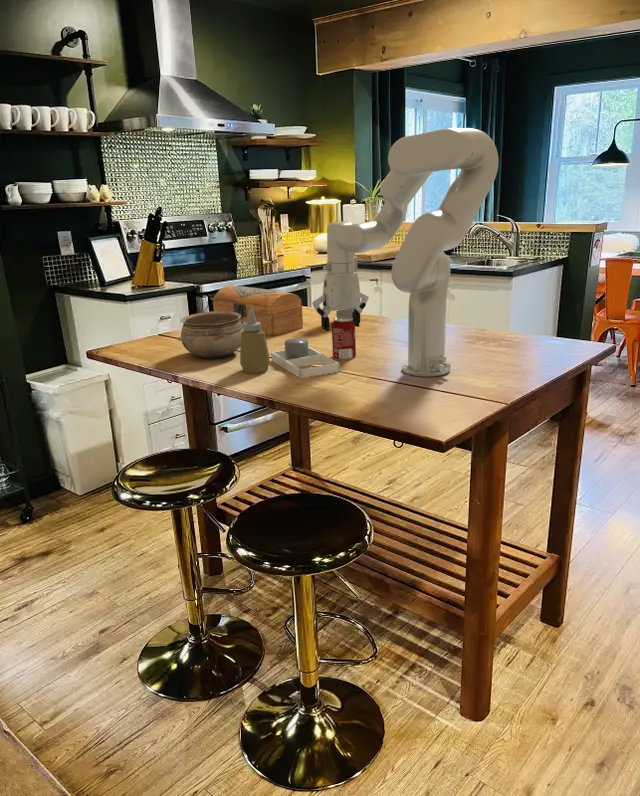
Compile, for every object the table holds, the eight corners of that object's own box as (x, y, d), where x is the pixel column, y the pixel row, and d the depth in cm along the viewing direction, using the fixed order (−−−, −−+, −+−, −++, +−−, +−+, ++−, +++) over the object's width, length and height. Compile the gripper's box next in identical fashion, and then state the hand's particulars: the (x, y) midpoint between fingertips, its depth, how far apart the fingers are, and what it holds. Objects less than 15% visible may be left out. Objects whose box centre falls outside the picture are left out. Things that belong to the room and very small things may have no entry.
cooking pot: (226, 343, 206) (222, 306, 202) (266, 352, 194) (264, 313, 190) (162, 362, 188) (157, 322, 184) (202, 373, 177) (197, 330, 172)
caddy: (340, 375, 170) (339, 350, 167) (300, 383, 165) (299, 357, 163) (308, 357, 187) (307, 334, 185) (271, 363, 183) (270, 340, 180)
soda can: (354, 362, 180) (353, 321, 176) (331, 362, 182) (329, 321, 177) (357, 355, 187) (356, 315, 183) (334, 355, 188) (333, 315, 184)
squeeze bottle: (274, 370, 176) (269, 306, 170) (266, 379, 169) (261, 313, 163) (246, 369, 178) (241, 306, 172) (237, 379, 171) (231, 313, 164)
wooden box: (212, 327, 229) (208, 289, 224) (245, 318, 240) (242, 282, 236) (270, 339, 210) (267, 297, 205) (303, 328, 221) (301, 289, 217)
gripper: (318, 272, 169) (319, 335, 175) (374, 267, 176) (373, 327, 182) (306, 268, 175) (308, 328, 181) (361, 263, 182) (361, 321, 188)
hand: (341, 327), depth 181 cm, fingers open, 9 cm apart
